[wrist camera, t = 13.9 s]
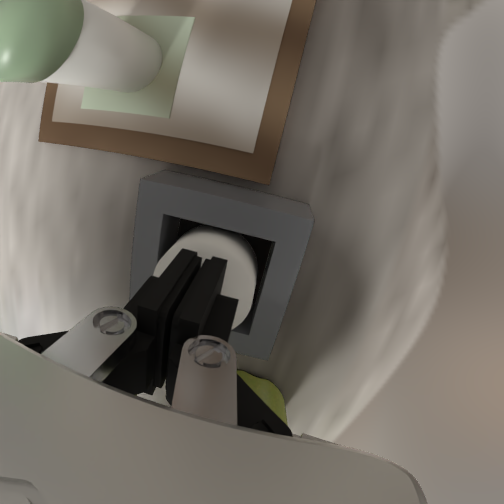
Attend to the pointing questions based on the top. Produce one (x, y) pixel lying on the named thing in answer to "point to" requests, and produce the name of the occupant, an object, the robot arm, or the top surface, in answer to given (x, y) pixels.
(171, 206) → the button box
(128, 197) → the top surface
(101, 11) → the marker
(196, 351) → the robot arm
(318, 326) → the top surface
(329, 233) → the top surface
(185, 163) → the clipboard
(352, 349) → the top surface
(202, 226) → the button cap
